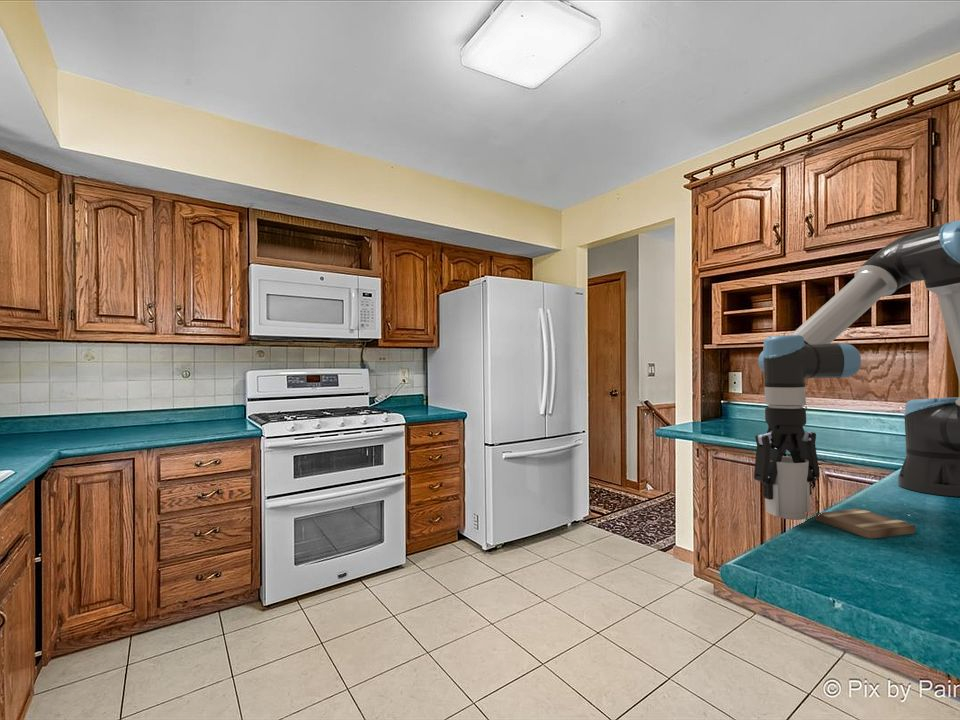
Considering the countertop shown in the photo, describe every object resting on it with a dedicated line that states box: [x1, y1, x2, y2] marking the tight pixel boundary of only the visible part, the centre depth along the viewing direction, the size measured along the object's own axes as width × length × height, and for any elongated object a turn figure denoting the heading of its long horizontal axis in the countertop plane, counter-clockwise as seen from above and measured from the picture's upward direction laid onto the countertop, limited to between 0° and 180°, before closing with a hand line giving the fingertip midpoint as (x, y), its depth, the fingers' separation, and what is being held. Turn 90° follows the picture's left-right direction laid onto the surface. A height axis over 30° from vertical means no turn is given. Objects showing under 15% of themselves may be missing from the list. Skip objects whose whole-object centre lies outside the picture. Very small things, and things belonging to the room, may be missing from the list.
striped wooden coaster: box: [815, 508, 916, 540], centre depth 96 cm, size 11×11×2 cm
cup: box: [768, 455, 809, 521], centre depth 104 cm, size 8×8×12 cm
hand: (787, 512), depth 104 cm, fingers closed on cup, 7 cm apart
